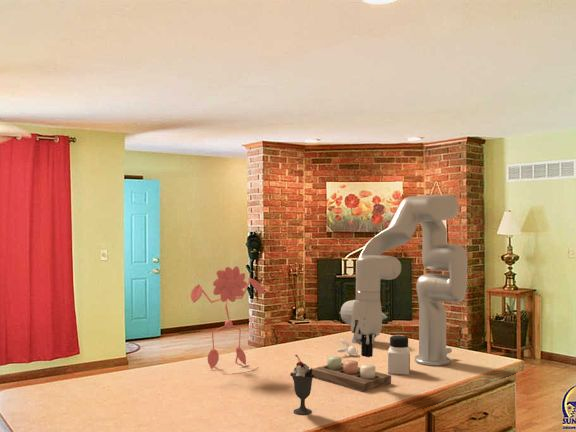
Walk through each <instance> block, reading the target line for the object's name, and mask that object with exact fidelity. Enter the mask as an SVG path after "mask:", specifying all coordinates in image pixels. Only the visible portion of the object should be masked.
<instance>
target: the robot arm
mask: <svg viewBox="0 0 576 432" xmlns="http://www.w3.org/2000/svg"><path fill="white" fill-rule="evenodd" d="M459 207H460V205H459V201H458V199H457V197H455V196H454V195H452V194H422V195H416V196H415V195H414V196H407V197H405V198H403V199H402V200H401V201H400V203H399V204H398V207H397V208H396V209H397V210H396V211H395V213H394V215H393V217H392V219H391V221H390V222H389V224H388V226H387V227H386V228H385V229H384V230H382V231H380V232H379V233H378V234H376V235H375V236H373V237H372V238H371V239H369V240H368V242H367V243H365V245H364V247H363V249H362V251H361V253H360V255H359V257H357V259H356V263H355V265H356V266H355V300H356V301H354V305H353V310H352V319H351V325H350V331H351V333H352V334H354V333H355V336H354V335H353V336H354V337H355V338H356V339H359V340H360V343H359V344H361V346H360V349H361V351H360V352H361V354H360V355H361V356H362V357H365V358H372V357H373V356H374V355H373V352H374V350H373V349H374V343H375V339H376V338H377V337H378V336H379V335H380V332H381V331H382V327H383V320H382V313H383V311H382V310H383V309H382V303H381V280H388V281H391V280H394V279H396V278H398V277H399V276H400V274H401V272H402V264H401V263H402V262H400V260H399V259H398V258H397V257H395V256H391V255H382V254H383V253H385V252H387V251H389V250H391V249H394V248H398V247H400V246H403V245H405V244H408V243H409V242H410V241H412V237H413V236H414V234H415V232H416V230H417V227H418V225H419V224H420V226H421V230H422V244H421V245H422V246H421V247H422V248H421V249H422V250H421V251H422V252H421V263H422V266H423V267H424V268H426V269H427V270H432V271H443V272H449V274H442V273H424V274H421V275H420V276H419V277H418V278H417V281H416V288H415V289H416V295H417V298H418V316H419V317H418V339H419V340H418V355H415V356H414V361H415V362H416V363H417V364H421V365H426V366H446V365H449V364H451V358H450V357H449V356H448V354H451V353H452V350H453V349H452V348H451V347H447V311H446V308H445V307H444V304H443V303H442V302H445V303H453V304H459V303H461V302H463V301H464V299H465V298H466V294H467V286H468V285H467V284H468V283H467V280H468V255H467V251H466V249H465V248H464V247H463V246H462V245H459V244H453V243H451V244H450V243H448V232H447V227H446V225H445V224H444V222H443V221H446V220H452V219H454V218H455V217H456V216H457V214H458V213H459Z"/></svg>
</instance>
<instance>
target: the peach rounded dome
mask: <svg viewBox="0 0 576 432" xmlns="http://www.w3.org/2000/svg"><path fill="white" fill-rule="evenodd" d="M342 363H343V373H344V374H348V375H355V374H358V367H359V362H358V361H357V360H353V359H352V360H351V359H350V360H349V359H348V360H344V361H343V362H342Z"/></svg>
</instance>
